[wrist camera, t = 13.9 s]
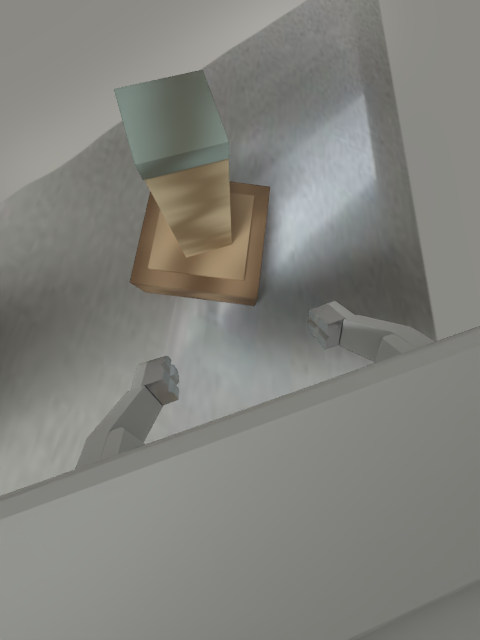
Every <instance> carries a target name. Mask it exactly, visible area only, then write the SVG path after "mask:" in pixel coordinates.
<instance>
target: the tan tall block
mask: <svg viewBox="0 0 480 640" xmlns="http://www.w3.org/2000/svg"><path fill="white" fill-rule="evenodd" d="M114 92H115V95H116V99H117V102H118V106H119V109H120V113H121V117H122V120H123V124H124V127H125V131H126V135H127V138H128V142H129V145H130V149H131V153H132V156H133V160H134V163H135V166H136V168H137V170H138V171H139V173H140V175H141V177H142V179H143V180H145V182H146V184H147V186H148V188H149V189H150V191H151V193H152V195H153V197H154V199H155V201H156V202H157V204H158V206H159V208H160V210H161V212H162V214H163V215H164V217H165V219H166V221H167V223H168V225H169V227H170V228H171V230H172V232H173V234H174V236H175V238H176V240H177V241H178V243H179V245H180V247H181V249H182V251H183V253H184V254H185V256H186V258H187V257H190V256H194V255H197V254H201V253H204V252H208V251H211V250H215V249H218V248H222V247H225V246H229V245H232V239H231V213H230V186H229V158H230V154H229V140H228V137H227V135H226V132H225V129H224V127H223V124H222V121H221V118H220V116H219V113H218V110H217V108H216V105H215V102H214V100H213V97H212V94H211V91H210V89H209V86H208V83H207V81H206V78H205V75H204V73H203V70H199V71H195V72H190V73H186V74H181V75H177V76H172V77H168V78H162V79H158V80H153V81H149V82H144V83H140V84H135V85H130V86H125V87H121V88H116V89H114Z"/></svg>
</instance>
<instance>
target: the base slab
mask: <svg viewBox="0 0 480 640" xmlns="http://www.w3.org/2000/svg"><path fill="white" fill-rule="evenodd" d="M229 186H230V213H231V239H232V245H229V246H225V247H222V248H218V249H215V250H211V251H208V252H204V253H201V254H197V255H194V256H190V257H187V258H186V256H185V254H184V253H183V251H182V249H181V247H180V245H179V243H178V241H177V240H176V238H175V236H174V234H173V232H172V230H171V228H170V227H169V225H168V223H167V221H166V219H165V217H164V215H163V214H162V212H161V210H160V208H159V206H158V204H157V202H156V201H155V199H154V197H153V195H152V193H151V191H150V195H149V200H148V204H147V208H146V213H145V217H144V222H143V226H142V231H141V235H140V239H139V244H138V248H137V253H136V257H135V261H134V266H133V270H132V275H131V279H130V283H132V284H133V285H135V286H136V287H138V288H140V289H141V290H143V291H144V292H149V293H157V294H165V295H173V296H181V297H189V298H196V299H204V300H212V301H220V302H228V303H236V304H244V305H252V306H254V305H255V303H256V301H257V298H258V290H259V281H260V272H261V263H262V254H263V245H264V237H265V228H266V219H267V210H268V201H269V192H270V187H268V186H260V185H252V184H245V183H237V182H229Z"/></svg>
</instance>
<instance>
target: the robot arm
mask: <svg viewBox="0 0 480 640" xmlns="http://www.w3.org/2000/svg"><path fill="white" fill-rule="evenodd" d="M308 316H309V317H310V319H309V321H308V328H309V331H310V332H311V334H312V335H313V336H314V337H316V338H318V342H319V343H320V344H321V345H322V347H323V348H324V349H328V348H331V347H335V346H338V345H340V346H341V347H343V348H346V349H348V350H350V351H352V352H354V353H356V354H359V355H361V356H363V357H365V358H367V359H369V360H372V361H374V364H371V365H368V366H366V367H363V368H360V369H357V370H354V371H351V372H349V373H346V374H343V375H340V376H337V377H335V378H332V379H329V380H326V381H323V382H320V383H318V384H315V385H312V386H309V387H306V388H304V389H301V390H298V391H295V392H292V393H290V394H287V395H284V396H281V397H278V398H275V399H273V400H270V401H267V402H264V403H261V404H258V405H256V406H253V407H250V408H247V409H244V410H242V411H239V412H236V413H233V414H230V415H227V416H225V417H222V418H219V419H216V420H213V421H210V422H208V423H205V424H202V425H199V426H196V427H194V428H191V429H188V430H185V431H182V432H179V433H177V434H174V435H171V436H168V437H165V438H162V439H160V440H157V441H154V442H151V443H148V444H144V443H143V442H144V441H145V439H146V437H147V435H148V433H149V431H150V429H151V428H152V426H153V424H154V422H155V420H156V418H157V416H158V415H159V413H160V411H161V409H162V407H163V405H165V404H168V403H171V402H173V401H176V400H178V397H179V388H178V387H177V384H178V382H179V375H178V371H177V368H176V367H175V365H172V364H171V359H170V358H169V356H164V357H160V358H157V359H154V360H150V361H148V362H144V363H141V364H139V365H138V366H137V369H136V372H135V376H134V380H133V383H132V387H131V390H130V391H127V393H126V394H125V395H124V396H123V397H122V398H121V400H120V401H119V402H118V403H117V404H116V405H115V406H114V408H113V409H112V410H111V411H110V412H109V413H108V415H107V416H106V417H105V418H104V419H103V420H102V422H101V423H100V424H99V425H98V426H97V427H96V428H95V430H94V431H93V432H92V433H91V434H90V435H89V437H88V438H87V440H86V443H85V445H84V448H83V450H82V453H81V455H80V458H79V461H78V463H77V466H76V468H75V470H72V471H69V472H67V473H64V474H61V475H58V476H55V477H52V478H50V479H47V480H44V481H41V482H38V483H36V484H33V485H30V486H27V487H24V488H21V489H19V490H16V491H13V492H10V493H7V494H5V495H2V496H0V640H480V326H479V327H476V328H473V329H470V330H467V331H464V332H461V333H459V334H456V335H453V336H450V337H447V338H445V339H442V340H439V341H436V342H435V341H433V340H432V339H430V338H428V337H427V336H425V335H423V334H422V333H420V332H419V331H417V330H415V329H414V328H412V327H410V326H405V325H401V324H397V323H392V322H388V321H384V320H379V319H375V318H370V317H366V316H362V315H354V314H353V313H351V312H350V311H349V310H347V309H346V308H344V307H343V306H342V305H340V304H339V303H338V302H336V301H332V302H329V303H327V304H324V305H321V306H318V307H315V308H312V309H309V311H308Z"/></svg>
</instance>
